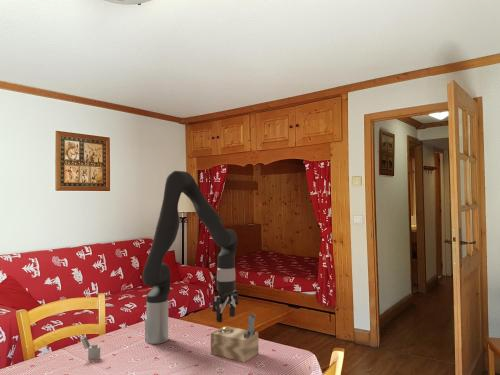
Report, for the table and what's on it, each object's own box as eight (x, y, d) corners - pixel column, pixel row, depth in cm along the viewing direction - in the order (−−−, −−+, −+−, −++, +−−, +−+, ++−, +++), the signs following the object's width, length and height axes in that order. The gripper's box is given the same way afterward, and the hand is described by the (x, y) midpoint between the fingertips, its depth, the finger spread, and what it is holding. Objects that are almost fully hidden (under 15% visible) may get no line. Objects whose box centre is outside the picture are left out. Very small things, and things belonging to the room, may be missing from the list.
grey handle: (248, 316, 144) (251, 316, 144) (253, 313, 147) (256, 314, 147) (246, 336, 145) (248, 337, 144) (251, 333, 148) (253, 334, 147)
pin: (220, 352, 151) (220, 327, 152) (225, 349, 154) (225, 325, 154) (227, 353, 149) (227, 329, 150) (232, 350, 152) (232, 326, 153)
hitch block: (210, 353, 150) (210, 328, 150) (226, 345, 158) (225, 322, 159) (244, 362, 141) (244, 336, 141) (258, 353, 149) (258, 328, 150)
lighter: (100, 357, 147) (100, 336, 148) (98, 359, 145) (98, 338, 146) (82, 357, 148) (83, 336, 148) (80, 359, 146) (80, 337, 146)
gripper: (229, 274, 161) (228, 313, 160) (207, 280, 149) (207, 322, 149) (243, 276, 157) (243, 316, 156) (222, 283, 145) (222, 326, 144)
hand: (225, 319), depth 152 cm, fingers open, 8 cm apart
